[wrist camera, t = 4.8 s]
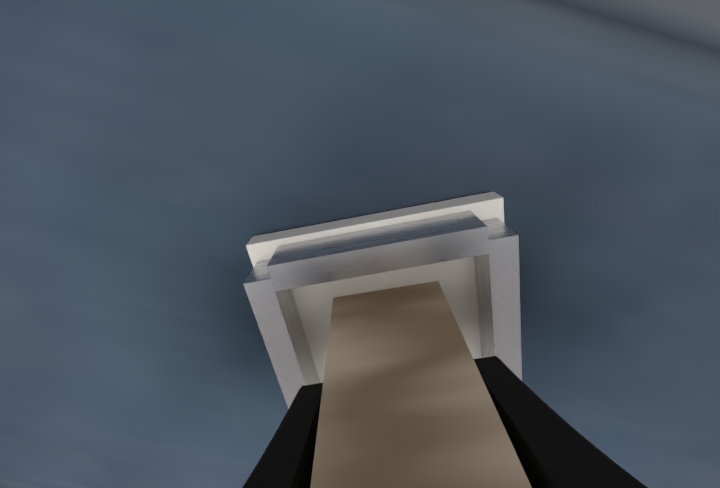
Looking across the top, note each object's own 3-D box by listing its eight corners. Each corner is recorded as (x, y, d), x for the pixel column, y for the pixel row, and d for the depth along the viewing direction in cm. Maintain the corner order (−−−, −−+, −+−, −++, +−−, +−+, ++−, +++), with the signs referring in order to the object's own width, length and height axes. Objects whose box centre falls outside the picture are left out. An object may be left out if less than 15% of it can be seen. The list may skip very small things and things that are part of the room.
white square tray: (497, 205, 10) (517, 221, 9) (505, 394, 13) (523, 428, 12) (254, 250, 11) (238, 271, 10) (311, 423, 14) (306, 459, 12)
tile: (493, 191, 11) (503, 197, 10) (503, 382, 14) (511, 398, 13) (252, 236, 12) (245, 245, 11) (310, 411, 15) (308, 427, 14)
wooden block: (438, 280, 11) (544, 515, 5) (447, 364, 13) (540, 637, 6) (333, 297, 12) (303, 544, 5) (352, 378, 13) (348, 656, 6)
